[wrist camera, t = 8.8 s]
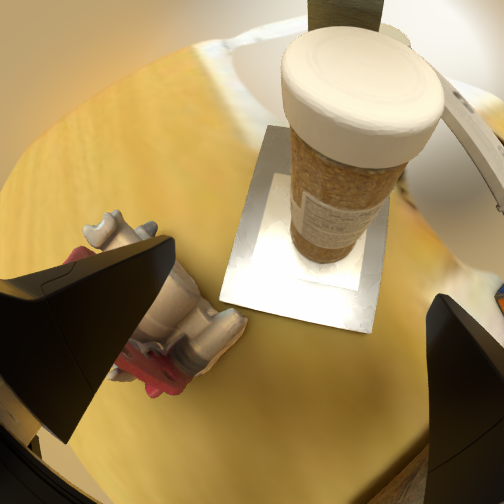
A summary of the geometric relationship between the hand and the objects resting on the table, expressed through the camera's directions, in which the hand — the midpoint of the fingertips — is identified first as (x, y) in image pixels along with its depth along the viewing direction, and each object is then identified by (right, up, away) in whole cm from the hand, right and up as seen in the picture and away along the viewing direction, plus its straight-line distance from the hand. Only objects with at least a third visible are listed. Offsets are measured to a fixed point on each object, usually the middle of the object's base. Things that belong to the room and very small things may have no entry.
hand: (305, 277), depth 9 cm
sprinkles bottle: (+3, +2, +10) cm, 10 cm away
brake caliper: (-8, -4, +12) cm, 15 cm away
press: (0, +3, +12) cm, 13 cm away
